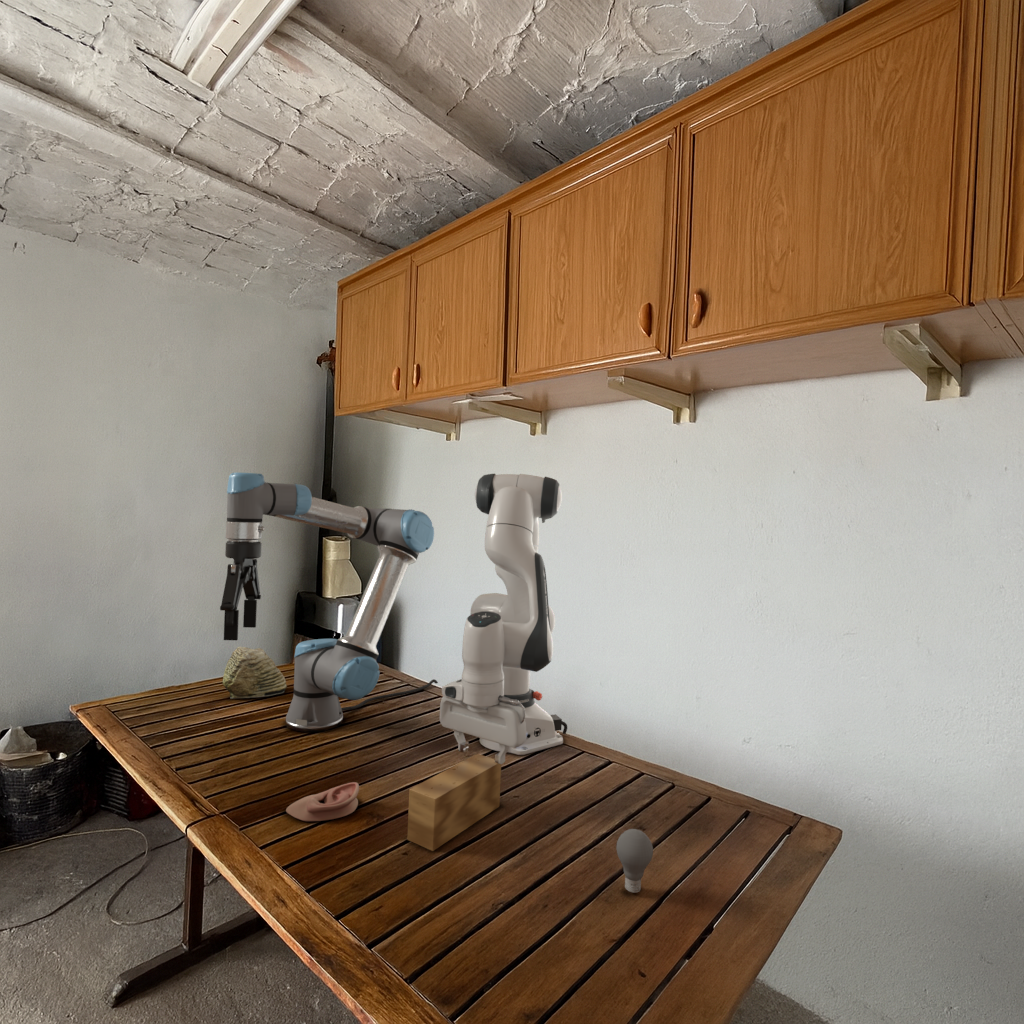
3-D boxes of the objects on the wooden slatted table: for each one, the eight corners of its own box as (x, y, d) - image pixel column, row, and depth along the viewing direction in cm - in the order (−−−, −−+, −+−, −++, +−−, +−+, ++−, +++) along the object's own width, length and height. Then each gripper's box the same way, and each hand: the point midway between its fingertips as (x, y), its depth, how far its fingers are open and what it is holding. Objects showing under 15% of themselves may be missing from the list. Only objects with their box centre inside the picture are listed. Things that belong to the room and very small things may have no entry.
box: (432, 851, 115) (435, 799, 115) (407, 839, 119) (409, 789, 118) (499, 806, 133) (501, 761, 133) (475, 797, 136) (477, 753, 136)
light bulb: (610, 879, 108) (613, 822, 108) (644, 879, 109) (647, 822, 109) (619, 902, 102) (622, 840, 102) (655, 901, 103) (658, 840, 103)
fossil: (218, 695, 195) (220, 647, 195) (278, 685, 208) (279, 640, 207) (228, 703, 189) (230, 653, 188) (289, 692, 201) (290, 645, 201)
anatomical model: (278, 797, 124) (308, 772, 135) (277, 817, 124) (307, 791, 136) (340, 806, 122) (366, 781, 133) (339, 827, 122) (365, 799, 133)
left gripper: (244, 545, 132) (240, 646, 133) (275, 537, 157) (272, 622, 157) (206, 543, 131) (202, 645, 132) (243, 536, 156) (240, 622, 156)
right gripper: (533, 697, 129) (531, 764, 129) (454, 678, 140) (453, 740, 140) (516, 706, 123) (514, 776, 124) (435, 686, 134) (434, 749, 135)
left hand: (240, 633), depth 144 cm, fingers open, 13 cm apart
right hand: (481, 756), depth 132 cm, fingers open, 8 cm apart
